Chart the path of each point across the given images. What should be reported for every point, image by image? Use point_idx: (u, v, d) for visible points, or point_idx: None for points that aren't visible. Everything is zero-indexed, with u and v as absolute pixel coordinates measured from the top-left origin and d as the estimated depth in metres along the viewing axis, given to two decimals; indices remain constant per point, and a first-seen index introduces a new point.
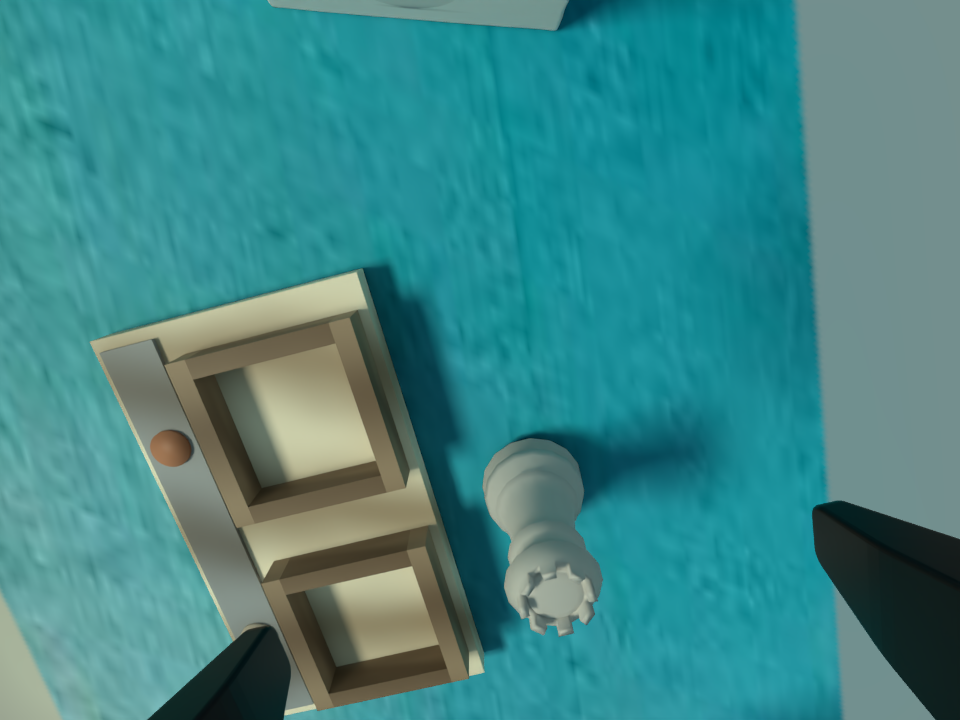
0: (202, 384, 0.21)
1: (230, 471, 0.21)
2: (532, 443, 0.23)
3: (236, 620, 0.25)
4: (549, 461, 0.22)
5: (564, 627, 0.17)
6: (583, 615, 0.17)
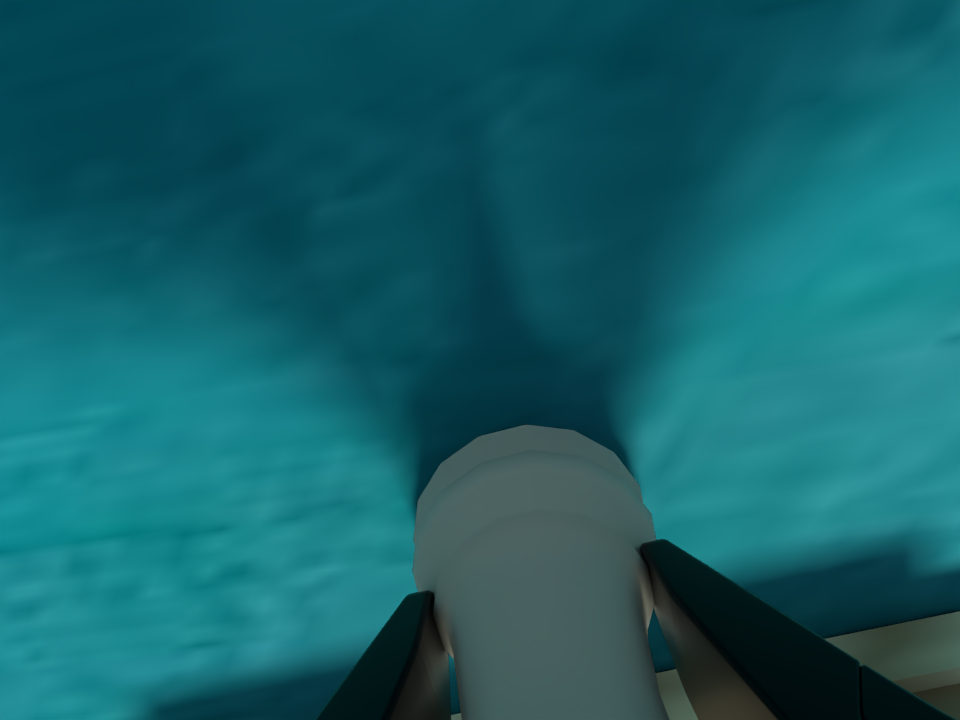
0: None
1: None
2: None
3: None
4: (426, 557, 0.09)
5: None
6: None
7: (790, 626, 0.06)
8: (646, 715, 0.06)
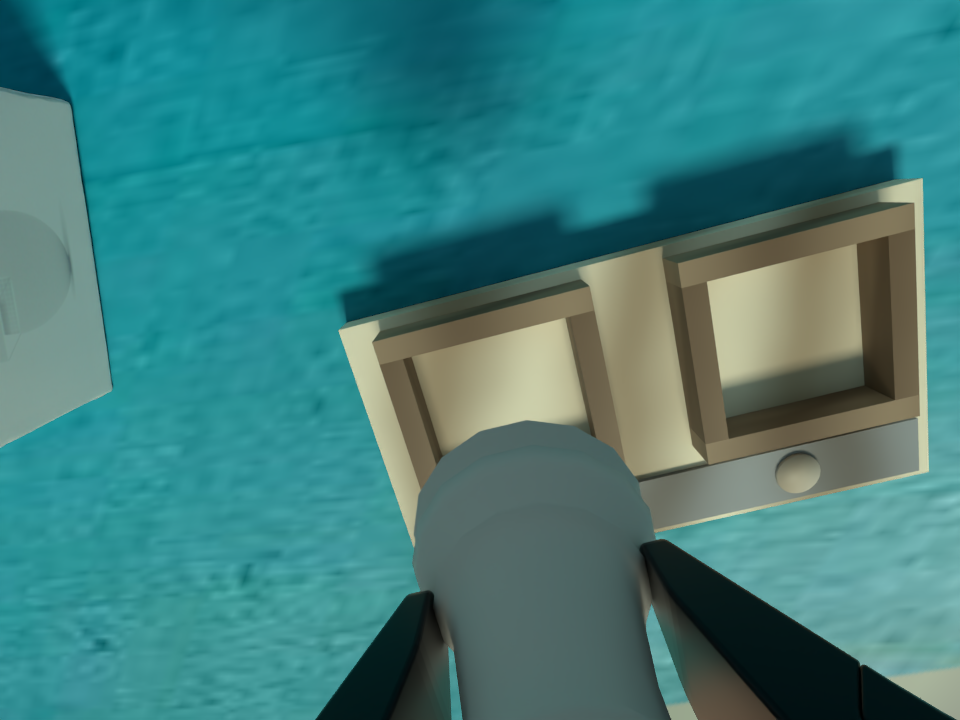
0: None
1: None
2: None
3: (768, 494, 0.21)
4: (427, 551, 0.09)
5: None
6: None
7: (789, 626, 0.06)
8: (645, 704, 0.06)
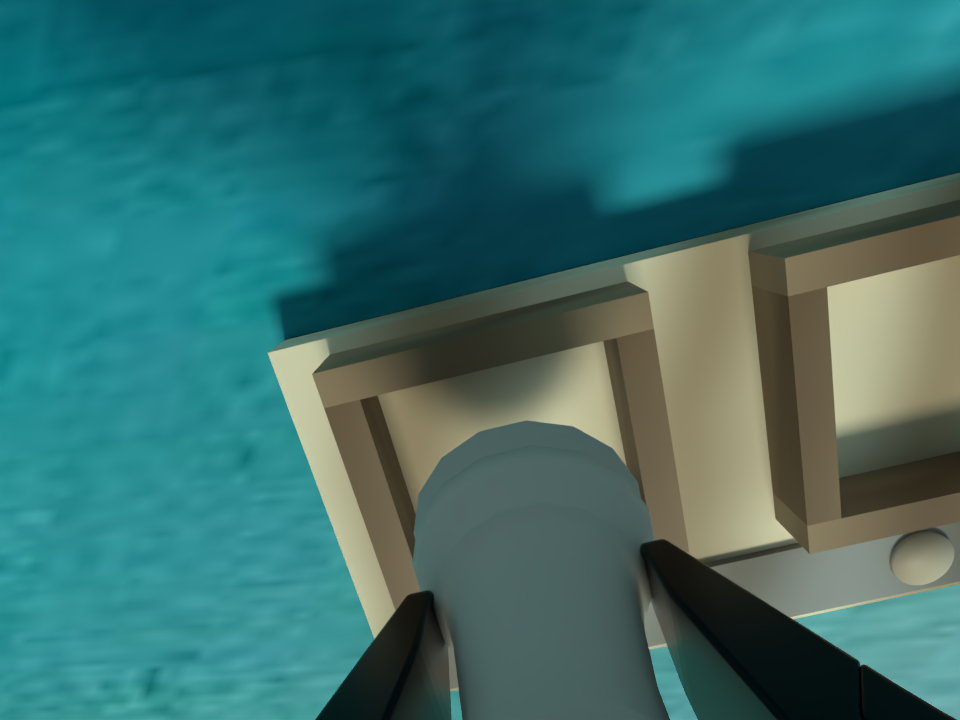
0: None
1: None
2: None
3: (877, 585, 0.15)
4: (427, 550, 0.09)
5: None
6: None
7: (790, 626, 0.06)
8: (643, 703, 0.06)
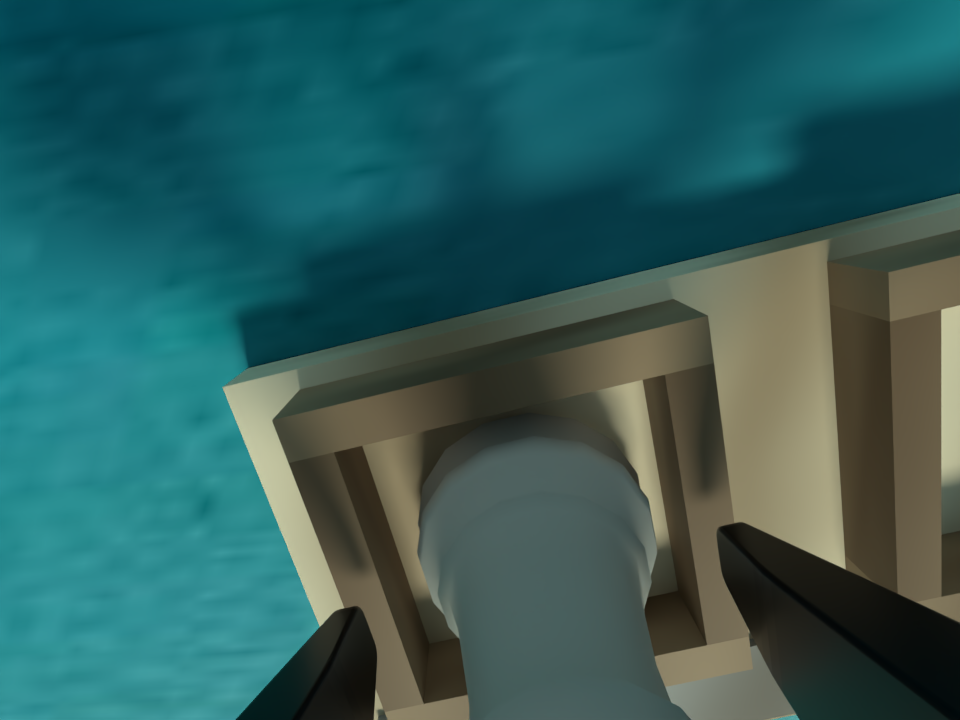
0: (442, 681, 0.11)
1: None
2: None
3: None
4: (432, 539, 0.09)
5: None
6: None
7: (903, 602, 0.06)
8: (643, 680, 0.06)
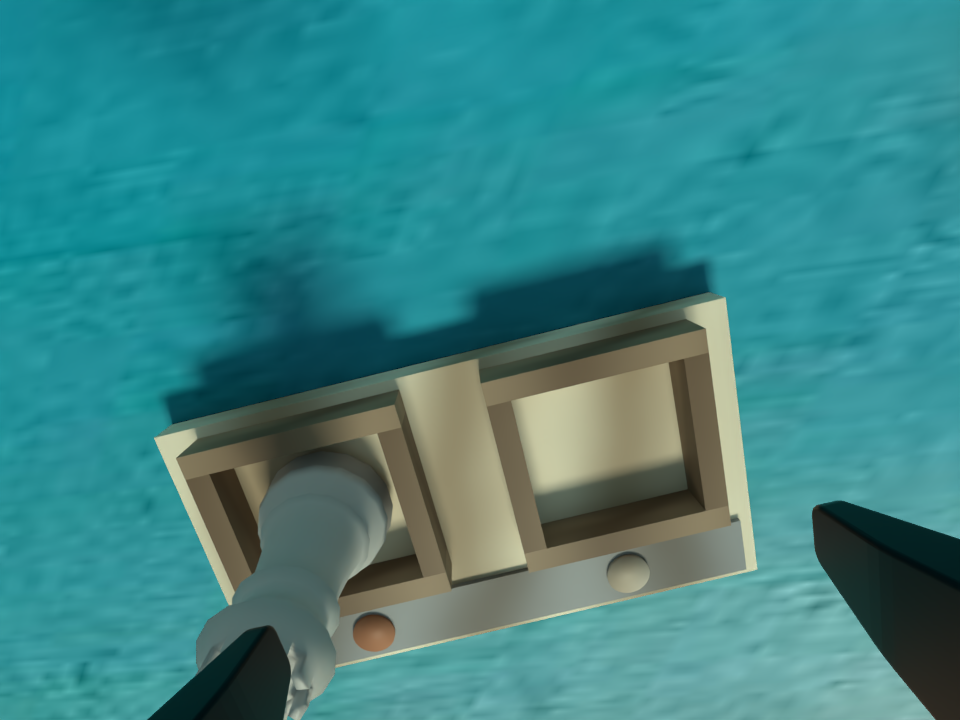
0: None
1: (378, 589, 0.19)
2: None
3: (601, 593, 0.21)
4: (260, 519, 0.17)
5: (293, 682, 0.12)
6: None
7: None
8: (314, 569, 0.14)
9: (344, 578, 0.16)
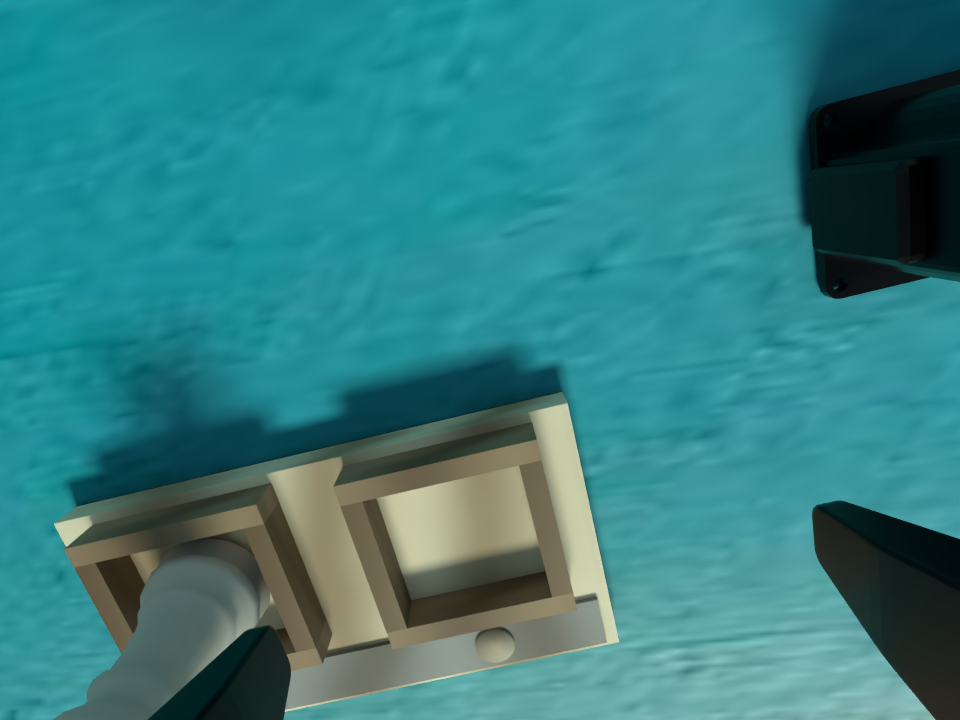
0: None
1: None
2: None
3: (472, 662, 0.22)
4: (141, 602, 0.19)
5: None
6: None
7: None
8: (161, 666, 0.16)
9: (200, 667, 0.17)
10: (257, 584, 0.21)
